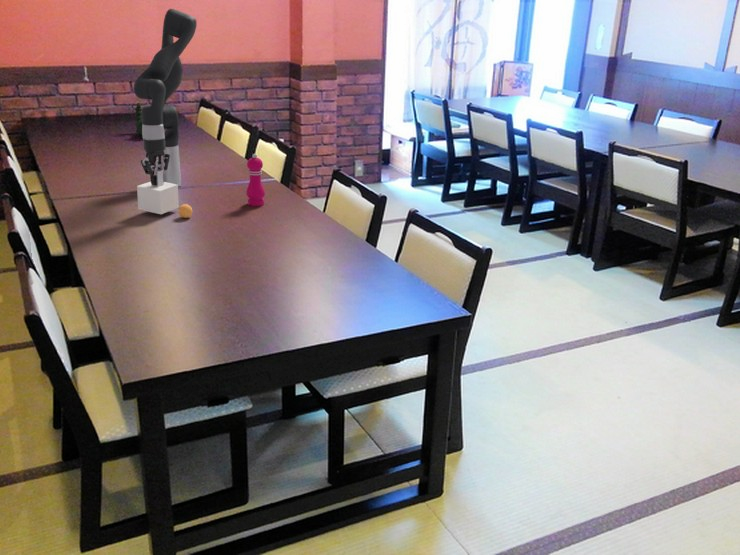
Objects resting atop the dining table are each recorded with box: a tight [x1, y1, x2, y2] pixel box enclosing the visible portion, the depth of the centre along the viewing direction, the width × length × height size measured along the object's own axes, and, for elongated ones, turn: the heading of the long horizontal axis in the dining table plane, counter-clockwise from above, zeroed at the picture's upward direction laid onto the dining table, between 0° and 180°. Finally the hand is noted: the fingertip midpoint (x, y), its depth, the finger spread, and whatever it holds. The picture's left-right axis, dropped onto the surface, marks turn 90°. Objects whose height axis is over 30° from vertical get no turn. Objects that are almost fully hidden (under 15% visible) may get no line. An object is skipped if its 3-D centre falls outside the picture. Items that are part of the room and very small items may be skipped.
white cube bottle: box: [136, 169, 180, 215], centre depth 250 cm, size 10×10×14 cm
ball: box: [177, 203, 193, 219], centre depth 249 cm, size 5×5×5 cm
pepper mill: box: [246, 153, 266, 207], centre depth 266 cm, size 7×7×20 cm
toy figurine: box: [134, 102, 143, 138], centre depth 381 cm, size 9×19×25 cm
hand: (157, 183), depth 249 cm, fingers closed on white cube bottle, 3 cm apart
